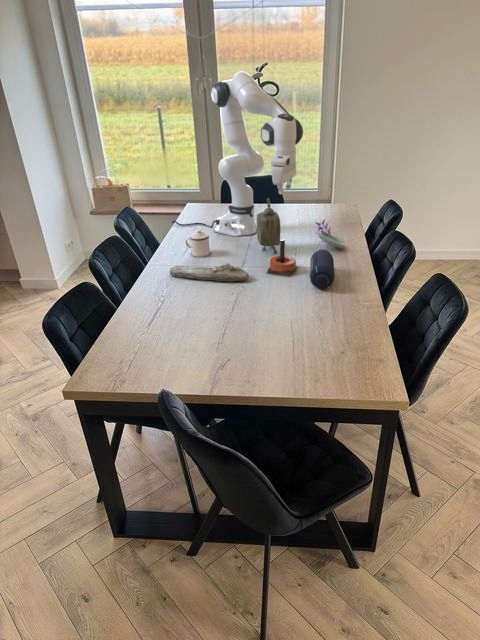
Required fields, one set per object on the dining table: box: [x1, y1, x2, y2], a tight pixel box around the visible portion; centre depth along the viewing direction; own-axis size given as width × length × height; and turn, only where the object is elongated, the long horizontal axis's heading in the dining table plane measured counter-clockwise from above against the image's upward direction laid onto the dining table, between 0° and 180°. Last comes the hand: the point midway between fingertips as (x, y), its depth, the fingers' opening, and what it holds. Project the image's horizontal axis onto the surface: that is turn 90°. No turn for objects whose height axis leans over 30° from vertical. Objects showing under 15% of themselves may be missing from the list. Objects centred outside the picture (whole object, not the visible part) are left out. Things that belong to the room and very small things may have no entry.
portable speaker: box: [309, 248, 336, 290], centre depth 204 cm, size 25×10×10 cm, turn 175°
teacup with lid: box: [184, 229, 211, 258], centre depth 231 cm, size 12×9×12 cm
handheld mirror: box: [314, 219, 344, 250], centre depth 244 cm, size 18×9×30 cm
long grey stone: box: [169, 262, 250, 283], centre depth 209 cm, size 35×5×10 cm
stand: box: [267, 238, 297, 277], centre depth 212 cm, size 10×10×14 cm
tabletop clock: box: [256, 197, 281, 255], centre depth 230 cm, size 14×9×25 cm, turn 9°
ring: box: [269, 255, 297, 272], centre depth 215 cm, size 11×11×3 cm
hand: (284, 191), depth 210 cm, fingers open, 8 cm apart
